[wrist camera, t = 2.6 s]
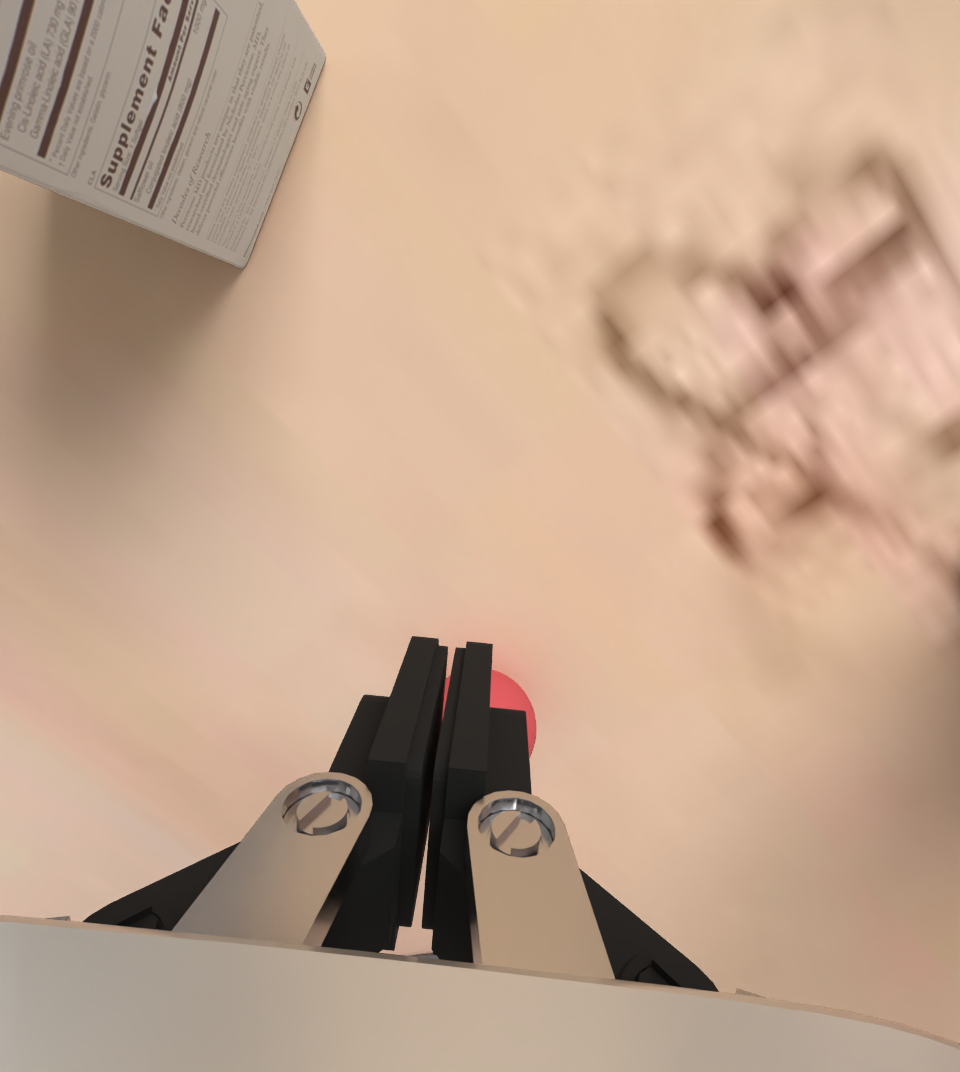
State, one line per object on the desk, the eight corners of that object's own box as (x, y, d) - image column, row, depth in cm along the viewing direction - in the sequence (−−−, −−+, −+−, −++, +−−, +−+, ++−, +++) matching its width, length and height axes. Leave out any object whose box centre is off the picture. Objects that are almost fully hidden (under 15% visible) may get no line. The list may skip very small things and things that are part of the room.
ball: (552, 674, 29) (560, 739, 24) (507, 756, 30) (506, 835, 25) (454, 632, 29) (440, 688, 23) (414, 717, 30) (392, 789, 25)
